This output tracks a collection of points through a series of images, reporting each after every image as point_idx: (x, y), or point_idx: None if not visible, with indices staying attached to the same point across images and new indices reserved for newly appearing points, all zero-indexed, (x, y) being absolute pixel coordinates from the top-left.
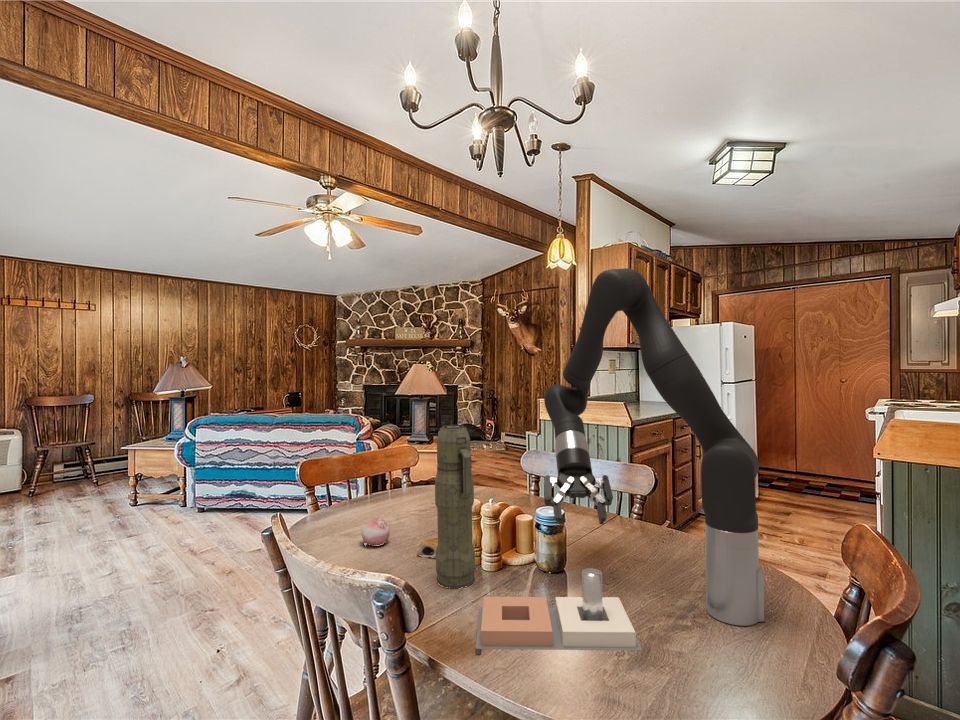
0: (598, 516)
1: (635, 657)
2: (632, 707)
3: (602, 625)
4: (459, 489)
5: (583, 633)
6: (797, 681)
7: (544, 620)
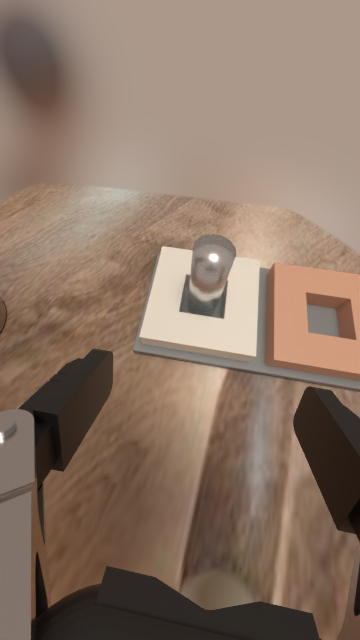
0: (92, 422)
1: None
2: (203, 202)
3: None
4: None
5: None
6: (31, 207)
7: (283, 288)
